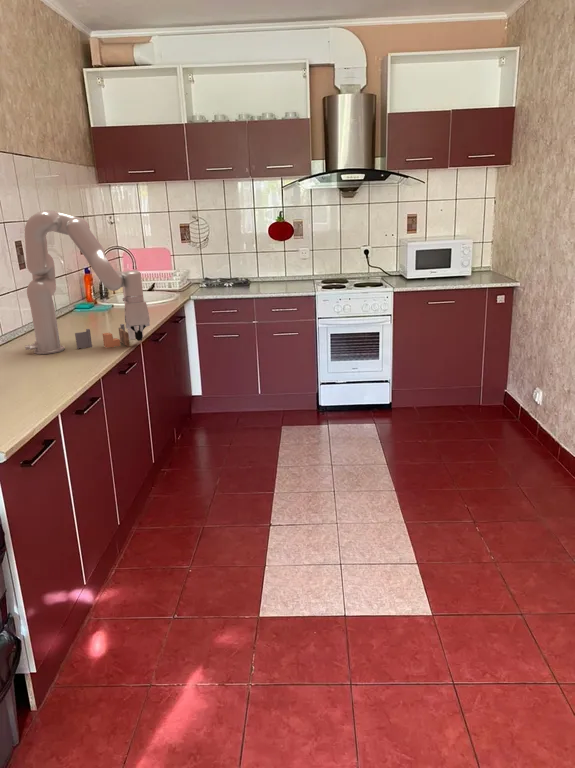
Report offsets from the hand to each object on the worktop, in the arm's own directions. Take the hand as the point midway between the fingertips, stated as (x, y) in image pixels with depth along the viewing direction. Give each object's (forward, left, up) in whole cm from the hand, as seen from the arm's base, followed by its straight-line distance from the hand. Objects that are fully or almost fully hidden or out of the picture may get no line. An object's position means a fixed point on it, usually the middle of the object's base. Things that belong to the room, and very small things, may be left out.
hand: (139, 340), depth 265 cm
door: (-5, +6, -2) cm, 8 cm away
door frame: (-14, +12, -2) cm, 18 cm away
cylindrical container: (+4, +16, -2) cm, 17 cm away
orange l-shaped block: (-11, +6, -2) cm, 13 cm away
